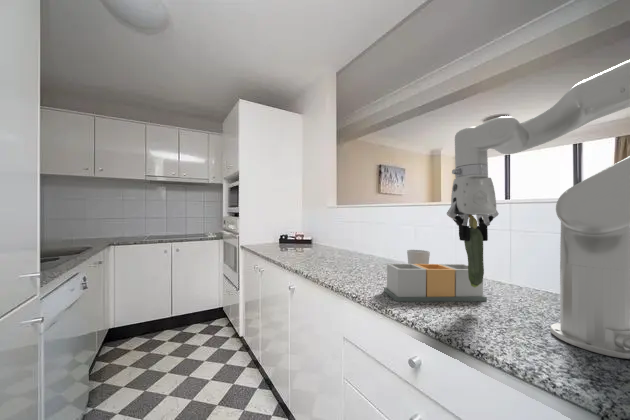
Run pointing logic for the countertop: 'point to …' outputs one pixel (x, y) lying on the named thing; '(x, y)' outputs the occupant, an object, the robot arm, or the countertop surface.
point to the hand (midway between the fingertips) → (473, 239)
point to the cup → (418, 256)
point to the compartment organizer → (431, 283)
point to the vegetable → (475, 253)
